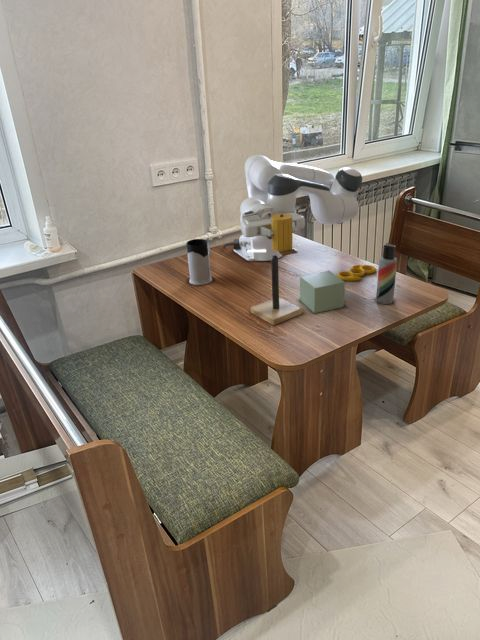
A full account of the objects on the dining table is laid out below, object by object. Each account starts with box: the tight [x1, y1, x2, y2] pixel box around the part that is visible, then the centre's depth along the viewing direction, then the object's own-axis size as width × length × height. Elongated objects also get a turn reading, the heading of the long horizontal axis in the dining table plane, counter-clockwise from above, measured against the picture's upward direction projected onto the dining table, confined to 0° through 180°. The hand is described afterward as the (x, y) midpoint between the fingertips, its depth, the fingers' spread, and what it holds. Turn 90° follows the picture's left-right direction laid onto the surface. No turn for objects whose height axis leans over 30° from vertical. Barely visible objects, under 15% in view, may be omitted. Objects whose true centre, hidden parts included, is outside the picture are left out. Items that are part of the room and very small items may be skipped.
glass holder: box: [186, 238, 213, 286], centre depth 200 cm, size 9×14×15 cm, turn 159°
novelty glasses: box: [336, 264, 377, 282], centre depth 200 cm, size 17×2×10 cm
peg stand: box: [250, 255, 303, 326], centre depth 170 cm, size 12×12×20 cm
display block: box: [299, 270, 346, 314], centre depth 178 cm, size 11×11×9 cm
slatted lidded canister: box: [271, 214, 298, 257], centre depth 161 cm, size 9×6×11 cm
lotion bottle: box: [375, 242, 398, 305], centre depth 175 cm, size 6×6×20 cm
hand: (282, 231), depth 161 cm, fingers closed on slatted lidded canister, 6 cm apart
